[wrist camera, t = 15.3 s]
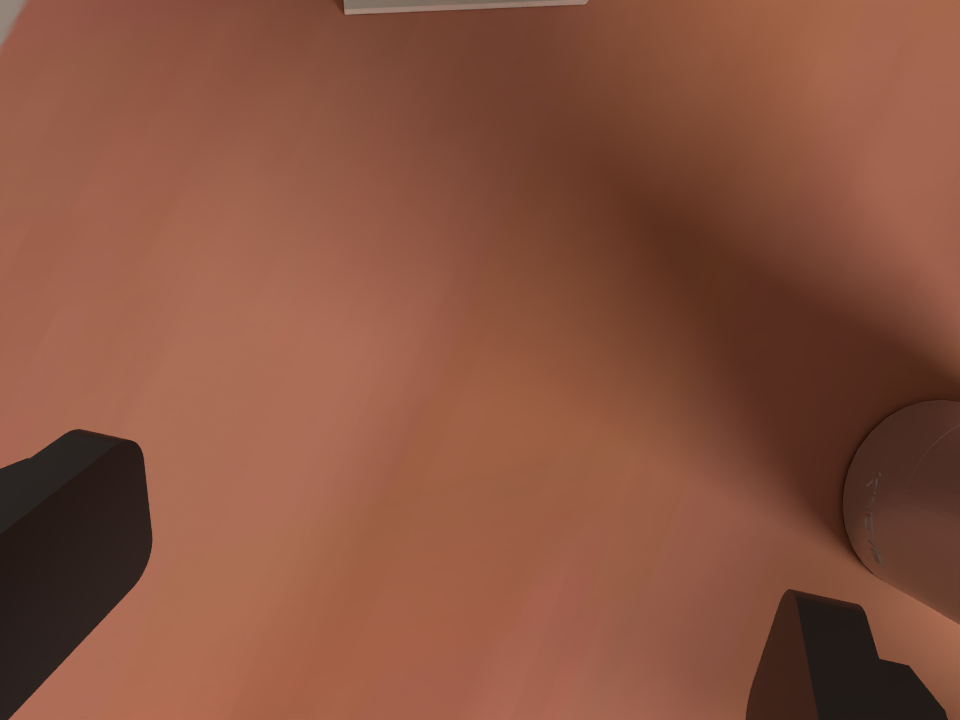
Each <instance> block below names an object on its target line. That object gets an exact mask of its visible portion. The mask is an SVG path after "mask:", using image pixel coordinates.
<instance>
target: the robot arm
mask: <svg viewBox="0 0 960 720" xmlns="http://www.w3.org/2000/svg"><path fill="white" fill-rule="evenodd" d="M843 515H844V522H845V529H846V532H847V534H848V537H849V540H850V542H851V545H852V548H853V549H854V551H855V552H856V554H857V555H858V557H859V558H860V560H861V561H862V563H863V564H864V565H865V566H866V567H867V568H868V569H869V570H870V571H871V572H872V573H873V574H874V575H875V576H876V577H878V578H880V579H881V580H883V581H885V582H887V583H888V584H890V585H892V586H893V587H895V588H897V589H899V590H900V591H902V592H904V593H906V594H907V595H909V596H911V597H913V598H915V599H916V600H918V601H920V602H922V603H923V604H925V605H927V606H929V607H930V608H932V609H934V610H936V611H937V612H939V613H941V614H942V615H944V616H945V617H947V618H949V619H951V620H953V621H954V622H956V623H958V624H960V402H956V401H948V400H932V401H923V402H919V403H916V404H913V405H910V406H907V407H904V408H902V409H900V410H899V411H897V412H895V413H894V414H892V415H890V416H889V417H887V418H885V419H884V420H883V421H882V422H881V423H880V424H879V425H878V426H877V427H876V428H874V429H873V430H872V431H871V432H870V433H869V435H868V436H867V438H866V439H865V440H864V442H863V443H862V444H861V446H860V447H859V448H858V450H857V452H856V454H855V456H854V459H853V461H852V463H851V465H850V467H849V470H848V474H847V478H846V482H845V486H844V493H843ZM151 548H152V529H151V520H150V511H149V502H148V493H147V483H146V474H145V465H144V457H143V453H142V450H141V448H140V447H139V445H138V444H137V443H136V442H134V441H131V440H127V439H122V438H118V437H113V436H109V435H105V434H100V433H96V432H91V431H87V430H81V429H76V430H72V431H69V432H68V433H66V434H64V435H63V436H61V437H60V438H58V439H57V440H56V441H54V442H53V443H51V444H50V445H48V446H47V447H46V448H44V449H43V450H41V451H40V452H38V453H37V454H35V455H34V456H33V457H31V458H30V459H29V458H26V459H24V460H21V461H19V462H16V463H14V464H11V465H9V466H6V467H4V468H1V469H0V720H8V719H9V718H10V717H11V716H12V715H13V714H14V713H15V712H16V711H17V710H18V709H19V708H20V707H21V706H22V705H23V704H24V702H25V701H26V700H27V699H28V698H29V697H30V696H31V695H32V694H33V693H34V692H35V691H36V690H37V689H38V688H39V687H40V686H41V684H42V683H43V682H44V681H45V680H46V679H47V678H48V677H49V676H50V675H51V674H52V673H53V672H54V671H55V670H56V669H57V667H58V666H59V665H60V664H61V663H62V662H63V661H64V660H65V659H66V658H67V657H68V656H69V655H70V654H71V653H72V652H73V651H74V649H75V648H76V647H77V646H78V645H79V644H80V643H81V642H82V641H83V640H84V639H85V638H86V637H87V636H88V635H89V634H90V632H91V631H92V630H93V629H94V628H95V627H96V626H97V625H98V624H99V623H100V622H101V621H102V620H103V619H104V618H105V617H106V616H107V614H108V613H109V612H110V611H111V610H112V609H113V608H114V607H115V606H116V605H117V604H118V603H119V602H120V601H121V600H122V599H123V598H124V596H125V595H126V594H127V593H128V592H129V591H130V590H131V589H132V588H133V587H134V586H135V584H136V583H137V582H138V580H139V579H140V577H141V576H142V574H143V572H144V570H145V568H146V566H147V563H148V560H149V557H150V553H151ZM746 720H948V718H947V716H946V713H945V710H944V709H943V708H942V707H941V705H940V704H939V703H938V702H937V700H936V699H935V698H934V697H933V695H932V694H931V693H930V692H929V690H928V689H927V688H926V687H925V685H924V684H923V683H922V682H921V680H920V679H919V678H918V677H917V675H916V674H915V673H914V672H913V670H912V669H911V668H910V667H909V666H908V665H904V664H899V663H895V662H891V661H886V660H882V659H879V657H878V654H877V650H876V647H875V644H874V640H873V637H872V633H871V630H870V627H869V623H868V620H867V617H866V614H865V611H864V610H863V608H862V607H861V606H860V605H858V604H854V603H849V602H845V601H840V600H836V599H831V598H827V597H822V596H818V595H814V594H809V593H805V592H800V591H796V590H791V589H789V590H787V591H786V592H785V593H784V595H783V596H782V598H781V601H780V603H779V606H778V609H777V612H776V615H775V618H774V621H773V624H772V627H771V630H770V633H769V636H768V639H767V642H766V645H765V648H764V651H763V654H762V657H761V660H760V663H759V666H758V669H757V672H756V675H755V677H754V680H753V683H752V687H751V690H750V695H749V699H748V705H747V712H746Z"/></svg>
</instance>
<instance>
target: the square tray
mask: <svg viewBox="0 0 960 720" xmlns="http://www.w3.org/2000/svg"><path fill="white" fill-rule="evenodd" d="M587 1H588V0H343V2H344V12H345V15H348V14H371V13H395V12H418V11H441V10H464V9H488V8H511V7H534V6H557V5H581V4H586V3H587Z"/></svg>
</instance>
